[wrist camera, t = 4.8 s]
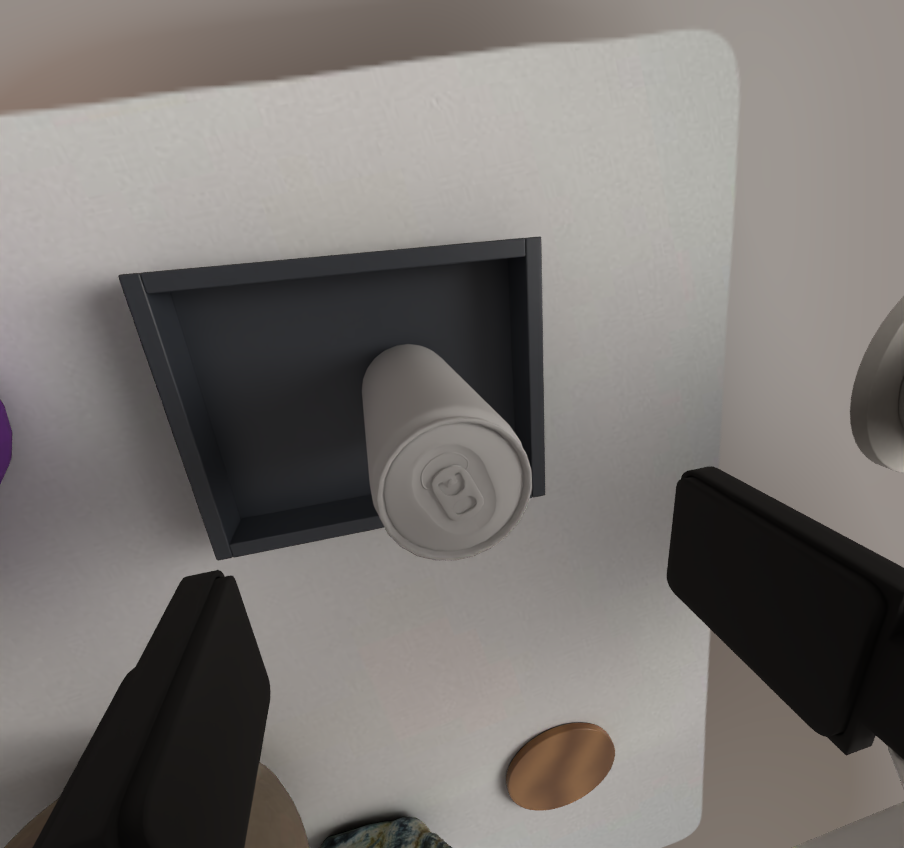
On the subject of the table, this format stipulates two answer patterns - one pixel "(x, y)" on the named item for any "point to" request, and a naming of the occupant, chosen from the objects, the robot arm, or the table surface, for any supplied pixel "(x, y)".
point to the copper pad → (560, 766)
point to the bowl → (269, 830)
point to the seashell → (388, 836)
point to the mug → (4, 441)
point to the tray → (327, 372)
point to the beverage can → (439, 457)
